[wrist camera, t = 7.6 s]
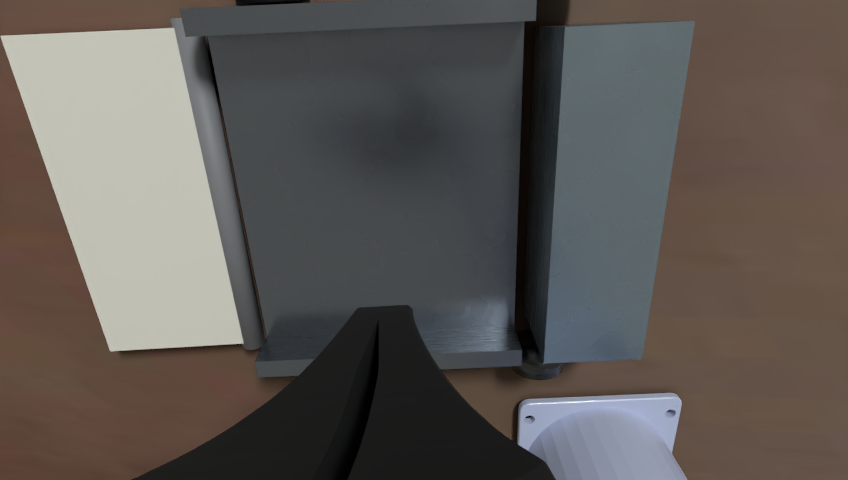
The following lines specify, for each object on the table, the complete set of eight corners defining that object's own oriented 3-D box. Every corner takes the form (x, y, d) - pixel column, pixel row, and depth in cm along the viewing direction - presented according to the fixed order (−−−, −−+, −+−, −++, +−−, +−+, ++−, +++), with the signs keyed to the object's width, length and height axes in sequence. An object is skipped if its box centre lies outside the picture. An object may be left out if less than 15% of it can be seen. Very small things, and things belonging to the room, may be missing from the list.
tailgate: (262, 349, 22) (110, 358, 22) (268, 334, 23) (124, 343, 23) (194, 17, 17) (-6, 26, 17) (206, 17, 18) (19, 26, 18)
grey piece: (604, 344, 24) (638, 402, 20) (279, 358, 24) (254, 418, 20) (650, -44, 17) (713, -63, 14) (206, -23, 18) (151, -36, 14)
